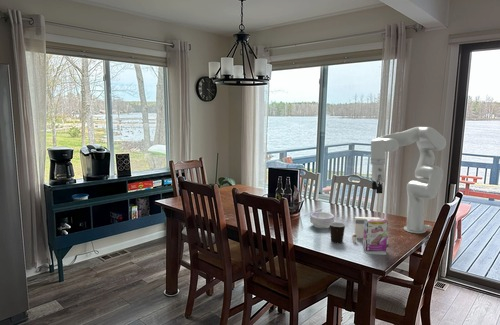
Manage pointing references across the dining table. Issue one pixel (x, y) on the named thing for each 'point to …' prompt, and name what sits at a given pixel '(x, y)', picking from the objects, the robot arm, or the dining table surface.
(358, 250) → the dining table surface
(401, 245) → the dining table surface
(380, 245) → the candy bar box
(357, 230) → the dispenser
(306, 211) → the dining table surface
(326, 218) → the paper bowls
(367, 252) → the pad
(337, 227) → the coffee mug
